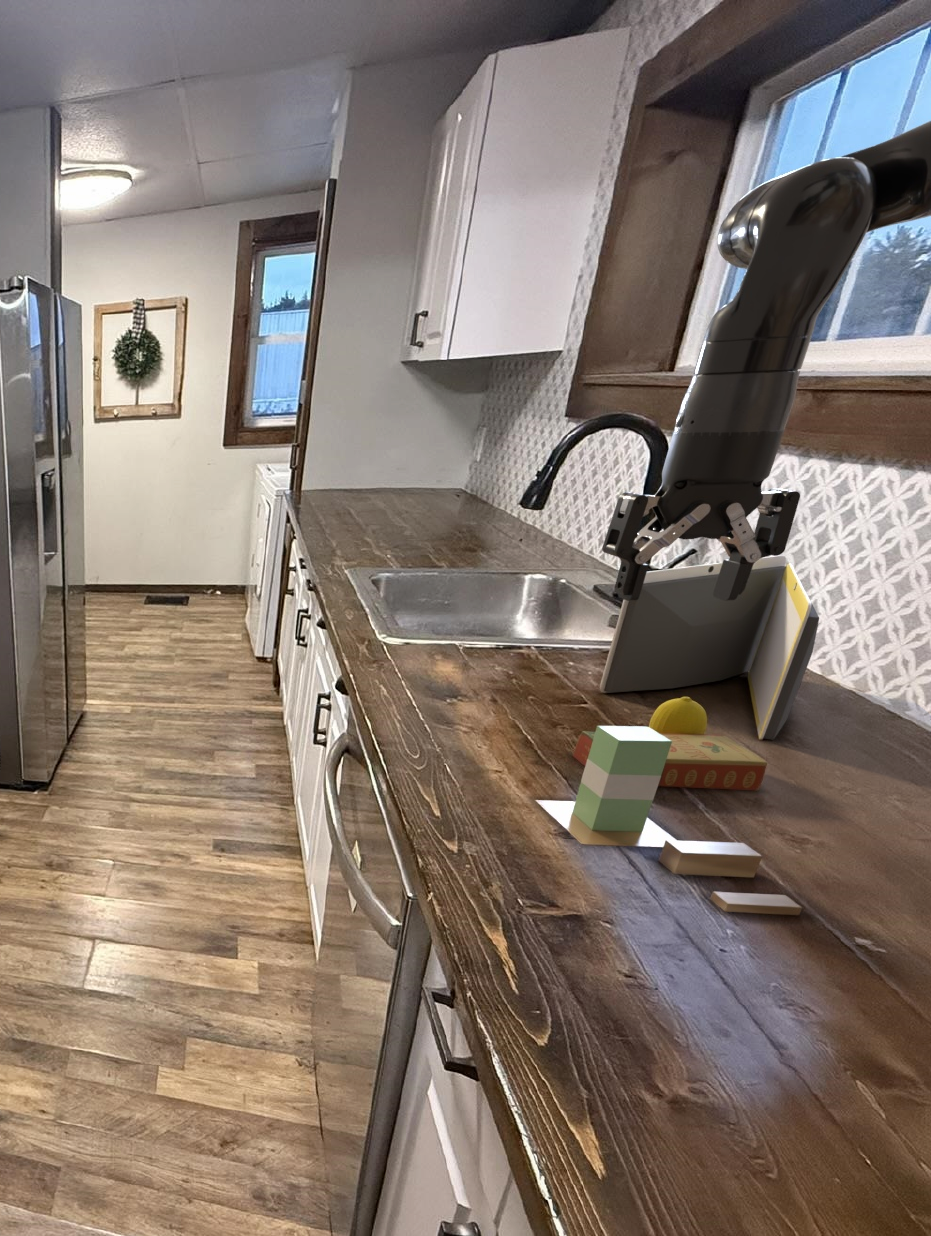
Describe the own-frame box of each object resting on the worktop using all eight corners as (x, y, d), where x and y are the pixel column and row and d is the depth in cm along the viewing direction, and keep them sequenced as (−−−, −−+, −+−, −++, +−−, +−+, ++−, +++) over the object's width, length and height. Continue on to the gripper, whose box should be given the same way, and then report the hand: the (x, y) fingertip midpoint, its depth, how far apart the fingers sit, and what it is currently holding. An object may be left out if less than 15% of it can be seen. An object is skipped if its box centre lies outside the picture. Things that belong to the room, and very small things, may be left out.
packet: (557, 750, 92) (612, 715, 82) (605, 751, 91) (665, 716, 82) (577, 836, 88) (636, 811, 78) (626, 838, 87) (693, 813, 78)
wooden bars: (657, 863, 80) (665, 839, 79) (734, 866, 79) (743, 842, 78) (717, 914, 72) (727, 888, 71) (804, 918, 71) (815, 892, 70)
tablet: (798, 749, 102) (856, 605, 95) (592, 716, 115) (629, 586, 107) (769, 675, 127) (813, 556, 119) (602, 654, 140) (633, 546, 132)
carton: (758, 793, 92) (771, 761, 90) (605, 786, 95) (614, 755, 94) (712, 763, 99) (723, 732, 98) (571, 757, 103) (579, 728, 101)
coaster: (627, 805, 91) (628, 802, 91) (686, 851, 82) (687, 848, 81) (534, 802, 92) (534, 799, 92) (581, 847, 83) (582, 844, 83)
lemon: (704, 764, 99) (724, 706, 96) (651, 759, 101) (669, 702, 98) (685, 747, 104) (703, 691, 101) (634, 742, 106) (651, 688, 103)
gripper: (668, 431, 69) (618, 609, 75) (855, 424, 66) (787, 608, 72) (617, 428, 75) (575, 591, 82) (784, 421, 73) (728, 590, 79)
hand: (675, 599), depth 77 cm, fingers open, 8 cm apart
